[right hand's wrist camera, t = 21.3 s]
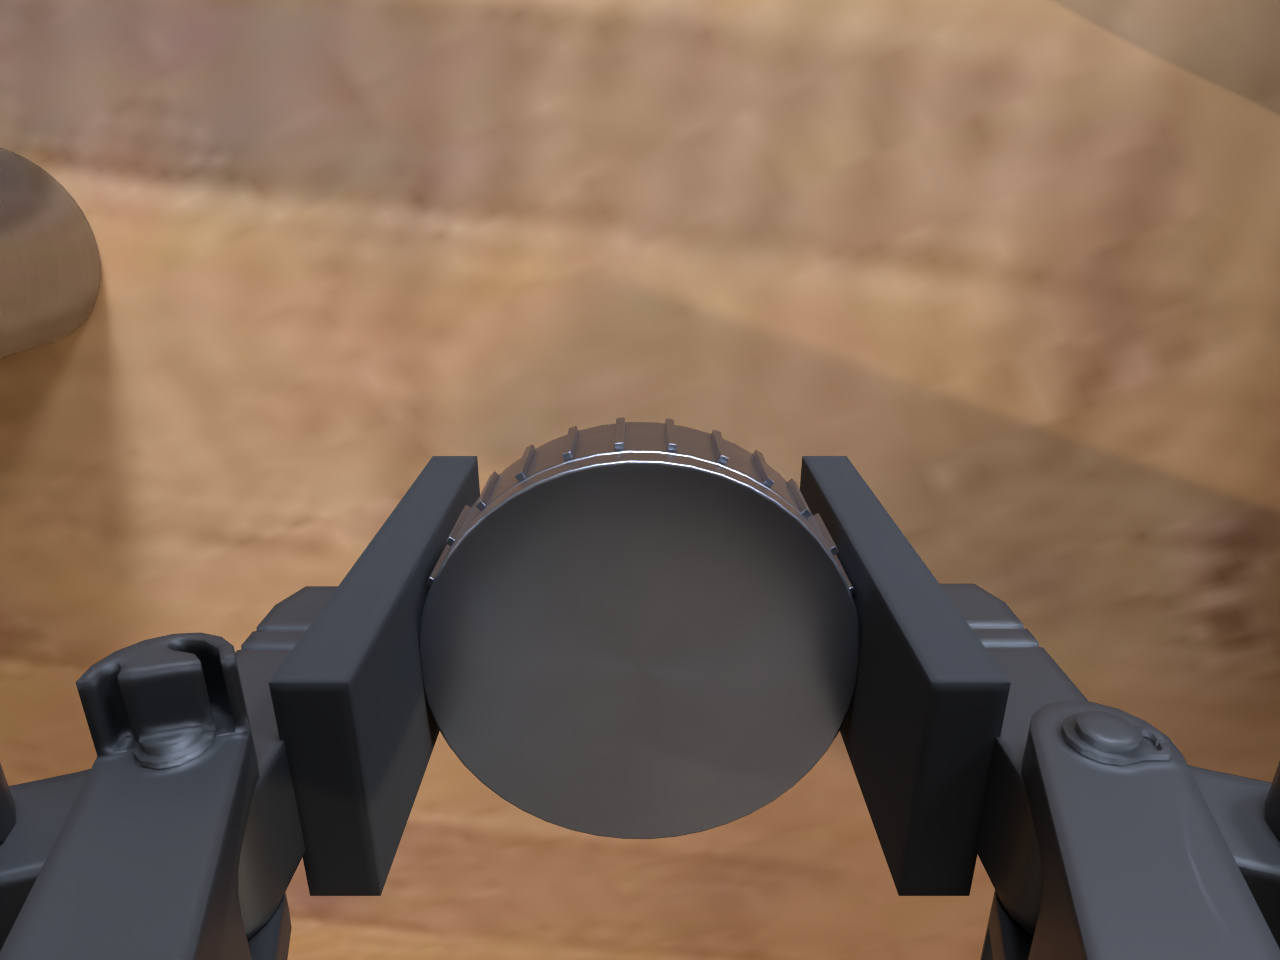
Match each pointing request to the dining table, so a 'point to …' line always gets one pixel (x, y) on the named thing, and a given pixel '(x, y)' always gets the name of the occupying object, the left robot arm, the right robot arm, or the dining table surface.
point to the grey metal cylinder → (42, 258)
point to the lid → (639, 633)
